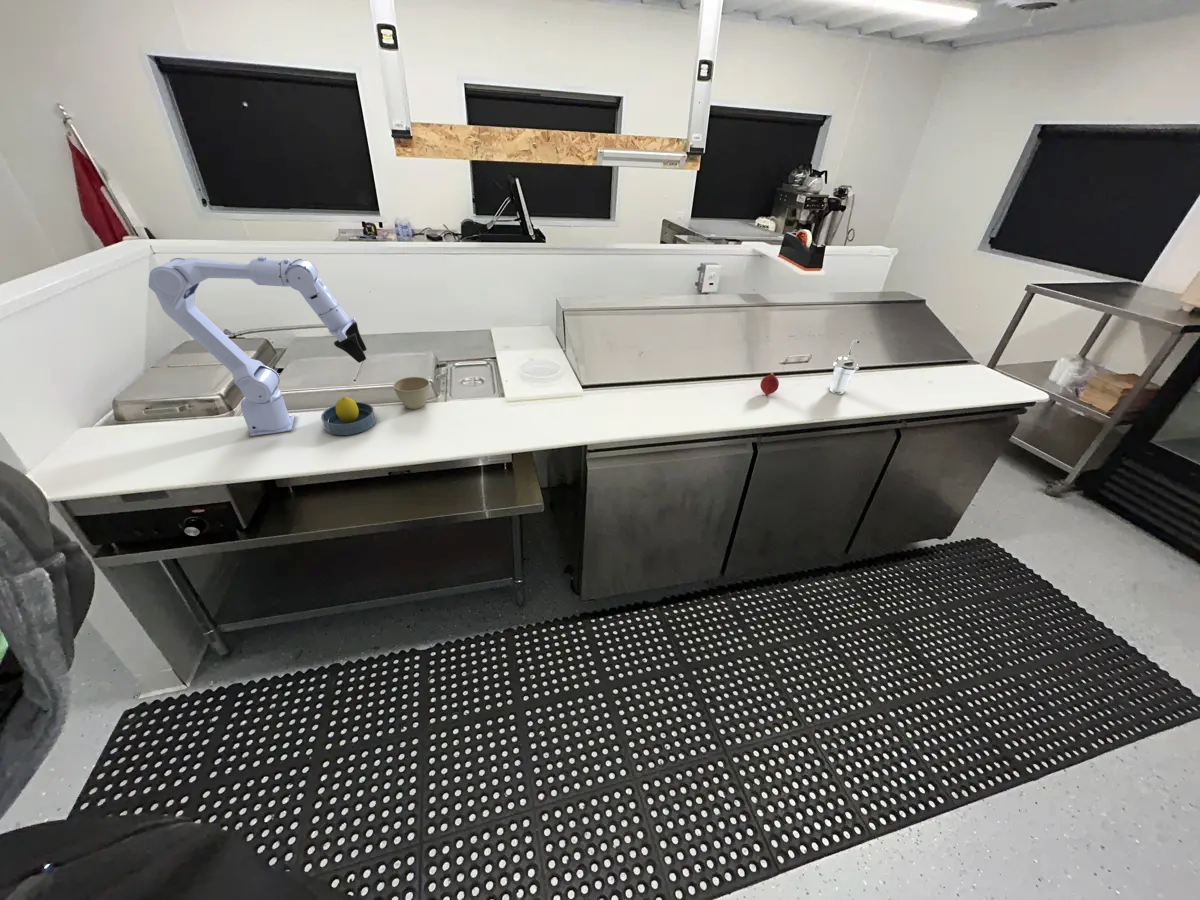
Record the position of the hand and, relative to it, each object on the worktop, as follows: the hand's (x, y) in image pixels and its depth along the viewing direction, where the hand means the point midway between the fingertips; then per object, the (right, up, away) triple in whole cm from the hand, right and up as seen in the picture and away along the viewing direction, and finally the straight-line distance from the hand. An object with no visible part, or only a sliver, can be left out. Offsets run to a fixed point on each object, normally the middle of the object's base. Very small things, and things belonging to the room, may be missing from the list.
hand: (362, 355), depth 128 cm
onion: (+119, -6, +36) cm, 125 cm away
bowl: (-7, -18, +7) cm, 20 cm away
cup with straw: (+145, -5, +41) cm, 151 cm away
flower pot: (+7, -12, +18) cm, 22 cm away
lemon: (-7, -18, +7) cm, 20 cm away
